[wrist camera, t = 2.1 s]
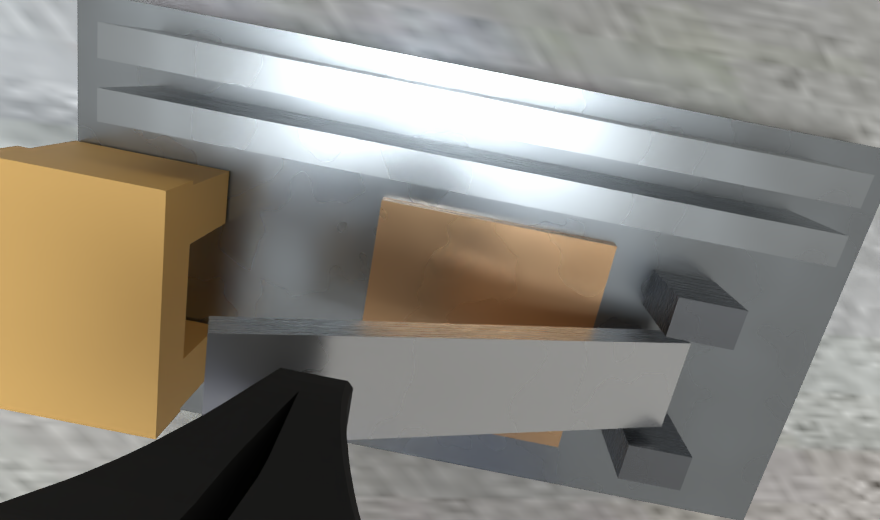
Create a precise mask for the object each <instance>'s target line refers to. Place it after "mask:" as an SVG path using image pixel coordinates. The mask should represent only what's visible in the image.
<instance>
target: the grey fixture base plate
mask: <svg viewBox="0 0 880 520" xmlns="http://www.w3.org/2000/svg"><path fill="white" fill-rule="evenodd" d="M78 141H80V142H85V143H90V144H95V145H100V146H105V147H110V148H115V149H120V150H125V151H130V152H135V153H140V154H145V155H150V156H155V157H161V158H166V159H171V160H176V161H181V162H186V163H191V164H196V165H201V166H206V167H211V168H216V169H221V170H226V171H229V181H228V194H227V207H226V220H225V224H223V225H222V226H220V227H218V228H216V229H215V230H213V231H211V232H210V233H208V234H206V235H205V236H203V237H201V238H200V239H198V240H196V241H194V242H193V243H191V244H190V249H189V266H188V284H187V302H186V319H185V320H190V321H195V322H200V323H205V324H208V323H209V316H225V317H258V318H290V319H322V320H355V321H387V322H419V323H452V324H484V325H516V326H548V327H581V328H613V329H645V330H661V331H662V332H663V334H664V335H665V336H666V337H669V338H674V339H679V340H684V341H688V342H690V343H691V345H690V348H689V350H688V353H687V356H686V359H685V362H684V365H683V367H682V370H681V373H680V376H679V379H678V381H677V384H676V387H675V390H674V393H673V396H672V398H671V401H670V404H669V407H668V410H667V412H666V415H665V418H664V421H663V424H662V427H641V428H617V429H594V430H570V431H547V432H523V433H500V434H476V435H453V436H429V437H406V438H382V439H359V440H347V443H352V444H357V445H362V446H367V447H372V448H377V449H382V450H387V451H392V452H397V453H402V454H407V455H412V456H417V457H423V458H428V459H433V460H438V461H443V462H448V463H453V464H458V465H463V466H468V467H473V468H478V469H483V470H488V471H493V472H498V473H503V474H508V475H513V476H518V477H524V478H529V479H534V480H539V481H544V482H549V483H554V484H559V485H564V486H569V487H574V488H579V489H584V490H589V491H594V492H599V493H604V494H609V495H614V496H619V497H625V498H630V499H635V500H640V501H645V502H650V503H655V504H660V505H665V506H670V507H675V508H680V509H685V510H690V511H695V512H700V513H705V514H710V515H715V516H720V517H725V518H731V519H736V520H744V517H745V515H746V513H747V510H748V508H749V506H750V504H751V501H752V499H753V497H754V494H755V492H756V490H757V487H758V485H759V483H760V480H761V478H762V476H763V473H764V471H765V469H766V466H767V464H768V462H769V459H770V457H771V455H772V452H773V450H774V448H775V445H776V443H777V441H778V438H779V436H780V434H781V431H782V429H783V427H784V424H785V422H786V420H787V418H788V415H789V413H790V411H791V408H792V406H793V404H794V401H795V399H796V397H797V394H798V392H799V390H800V387H801V385H802V383H803V380H804V378H805V376H806V373H807V371H808V369H809V366H810V364H811V362H812V359H813V357H814V355H815V352H816V350H817V348H818V345H819V343H820V341H821V338H822V336H823V334H824V332H825V329H826V327H827V325H828V322H829V320H830V318H831V315H832V313H833V311H834V308H835V306H836V304H837V301H838V299H839V297H840V294H841V292H842V290H843V287H844V285H845V283H846V280H847V278H848V276H849V273H850V271H851V269H852V266H853V264H854V262H855V259H856V257H857V255H858V253H859V250H860V248H861V246H862V243H863V241H864V239H865V236H866V234H867V232H868V229H869V227H870V225H871V222H872V220H873V218H874V215H875V213H876V211H877V208H878V206H879V204H880V148H876V147H871V146H866V145H861V144H856V143H851V142H846V141H841V140H836V139H831V138H826V137H821V136H816V135H811V134H805V133H800V132H795V131H790V130H785V129H780V128H775V127H770V126H765V125H760V124H755V123H750V122H745V121H740V120H735V119H730V118H724V117H719V116H714V115H709V114H704V113H699V112H694V111H689V110H684V109H679V108H674V107H669V106H664V105H659V104H654V103H648V102H643V101H638V100H633V99H628V98H623V97H618V96H613V95H608V94H603V93H598V92H593V91H588V90H583V89H578V88H573V87H567V86H562V85H557V84H552V83H547V82H542V81H537V80H532V79H527V78H522V77H517V76H512V75H507V74H502V73H497V72H491V71H486V70H481V69H476V68H471V67H466V66H461V65H456V64H451V63H446V62H441V61H436V60H431V59H426V58H421V57H416V56H410V55H405V54H400V53H395V52H390V51H385V50H380V49H375V48H370V47H365V46H360V45H355V44H350V43H345V42H340V41H334V40H329V39H324V38H319V37H314V36H309V35H304V34H299V33H294V32H289V31H284V30H279V29H274V28H269V27H264V26H259V25H253V24H248V23H243V22H238V21H233V20H228V19H223V18H218V17H213V16H208V15H203V14H198V13H193V12H188V11H183V10H177V9H172V8H167V7H162V6H157V5H152V4H147V3H142V2H137V1H132V0H78ZM203 392H204V382H203V383H202V384H201V385H200V387H199V388H198V389H197V390H196V391H195V392H194V393H193V394H192V396H191V397H190V398H189V399H188V400H187V401H186V402H185V403H184V405H183V406H182V407H181V408H180V410H185V411H190V412H195V413H200V414H202V407H203Z"/></svg>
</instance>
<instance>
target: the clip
mask: <svg viewBox="0 0 880 520" xmlns="http://www.w3.org/2000/svg"><path fill="white" fill-rule="evenodd" d="M228 181H229V171H226V170H221V169H216V168H211V167H206V166H201V165H196V164H191V163H186V162H181V161H176V160H171V159H166V158H161V157H155V156H150V155H145V154H140V153H135V152H130V151H125V150H120V149H115V148H110V147H105V146H100V145H95V144H90V143H85V142H80V141H71V142H65V143H59V144H53V145H47V146H41V147H34V148H25V147H20V146H13V147H7V148H0V409H5V410H10V411H16V412H21V413H26V414H31V415H36V416H41V417H46V418H51V419H56V420H61V421H66V422H71V423H76V424H81V425H86V426H91V427H96V428H101V429H106V430H111V431H116V432H122V433H127V434H132V435H137V436H142V437H147V438H152V439H156V438H157V437H158V436H159V435H160V434H161V433H162V431H163V430H164V429H165V428H166V427H167V426H168V425H169V424H170V422H171V421H172V420H173V419H174V418H175V417H176V416H177V414H178V413H179V412H180V408H181V407H182V406H183V405H184V403H185V402H186V401H187V400H188V399H189V398H190V397H191V396H192V394H193V393H194V392H195V391H196V390H197V389H198V388H199V387H200V385H201V384H202V383H203V382H204V378H205V364H206V350H207V335H208V324H205V323H200V322H195V321H190V320H185V319H186V302H187V284H188V266H189V249H190V244H191V243H193V242H194V241H196V240H198V239H200V238H201V237H203V236H205V235H206V234H208V233H210V232H211V231H213V230H215V229H216V228H218V227H220V226H222V225H223V224H225V220H226V207H227V194H228Z"/></svg>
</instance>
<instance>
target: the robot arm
mask: <svg viewBox="0 0 880 520" xmlns="http://www.w3.org/2000/svg"><path fill="white" fill-rule="evenodd" d="M352 393H353V387H352V386H351V384H350V383H349V381H346V380H341V379H336V378H331V377H326V376H321V375H315V374H310V373H305V372H300V371H295V370H290V369H285V368H279V369H278V370H276V371H274V372H273V373H271V374H269V375H268V376H266V377H264V378H263V379H261V380H260V381H258V382H256V383H255V384H253V385H252V386H250V387H248V388H247V389H245V390H244V391H242V392H240V393H239V394H237V395H236V396H234V397H232V398H231V399H229V400H228V401H226V402H224V403H223V404H221V405H219V406H218V407H216V408H214V409H213V410H211V411H209V412H208V413H206V414H204V415H202V416H201V417H199V418H197V419H195V420H193V421H192V422H190V423H188V424H186V425H184V426H182V427H180V428H178V429H177V430H175V431H173V432H171V433H169V434H167V435H165V436H163V437H162V438H160V439H158V440H156V441H154V442H152V443H150V444H148V445H146V446H144V447H142V448H140V449H138V450H136V451H134V452H131V453H129V454H127V455H125V456H123V457H120V458H118V459H116V460H114V461H111V462H109V463H107V464H104V465H102V466H99V467H97V468H95V469H92V470H90V471H88V472H85V473H83V474H80V475H78V476H75V477H73V478H70V479H67V480H65V481H62V482H59V483H56V484H53V485H50V486H48V487H45V488H42V489H39V490H36V491H33V492H31V493H28V494H25V495H22V496H19V497H16V498H13V499H11V500H8V501H5V502H2V503H0V520H361V519H360V516H359V512H358V507H357V503H356V499H355V494H354V489H353V483H352V477H351V472H350V464H349V456H348V444H347V424H348V418H349V412H350V406H351V399H352Z"/></svg>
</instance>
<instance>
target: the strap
mask: <svg viewBox="0 0 880 520" xmlns="http://www.w3.org/2000/svg"><path fill="white" fill-rule="evenodd" d="M690 345H691V343H690V342H688V341H684V340H679V339H674V338H669V337H666V336H665V335H664V334H663V332H662V331H661V330H645V329H613V328H581V327H548V326H516V325H484V324H452V323H419V322H387V321H355V320H322V319H290V318H258V317H225V316H209V323H208V335H207V350H206V364H205V378H204V392H203V407H202V415H204V414H206V413H208V412H209V411H211V410H213V409H214V408H216V407H218V406H219V405H221V404H223V403H224V402H226V401H228V400H229V399H231V398H232V397H234V396H236V395H237V394H239V393H240V392H242V391H244V390H245V389H247V388H248V387H250V386H252V385H253V384H255V383H256V382H258V381H260V380H261V379H263V378H264V377H266V376H268V375H269V374H271V373H273V372H274V371H276V370H278V369H279V368H285V369H290V370H295V371H300V372H305V373H310V374H315V375H321V376H326V377H331V378H336V379H341V380H346V381H349V383H350V384H351V386H352V387H353V393H352V399H351V406H350V412H349V418H348V424H347V440H359V439H382V438H406V437H429V436H453V435H476V434H500V433H523V432H547V431H570V430H594V429H617V428H641V427H662V424H663V421H664V418H665V415H666V412H667V410H668V407H669V404H670V401H671V398H672V396H673V393H674V390H675V387H676V384H677V381H678V379H679V376H680V373H681V370H682V367H683V365H684V362H685V359H686V356H687V353H688V350H689V348H690Z"/></svg>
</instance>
